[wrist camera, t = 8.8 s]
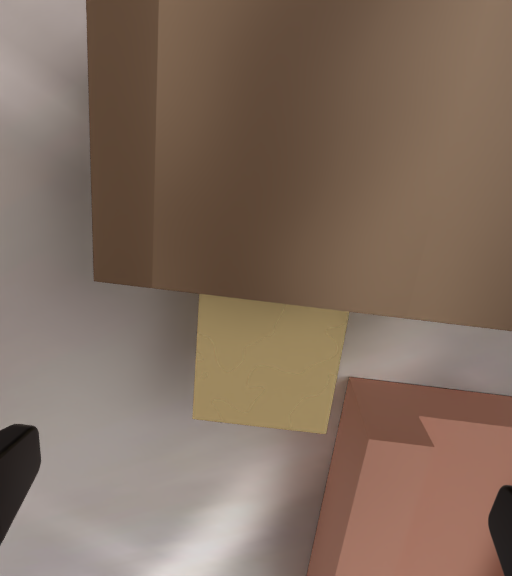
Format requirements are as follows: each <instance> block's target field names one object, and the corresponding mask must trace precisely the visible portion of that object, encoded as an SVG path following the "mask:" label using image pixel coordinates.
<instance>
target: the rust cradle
mask: <svg viewBox="0 0 512 576" xmlns="http://www.w3.org/2000/svg"><path fill="white" fill-rule="evenodd" d="M503 485H512V397H511V396H502V395H494V394H486V393H478V392H469V391H461V390H453V389H445V388H436V387H428V386H420V385H412V384H403V383H395V382H387V381H379V380H370V379H362V378H354V377H349V381H348V385H347V390H346V395H345V399H344V404H343V409H342V413H341V418H340V422H339V427H338V432H337V436H336V441H335V446H334V450H333V455H332V460H331V464H330V469H329V474H328V478H327V483H326V488H325V492H324V497H323V502H322V506H321V511H320V516H319V520H318V525H317V530H316V534H315V539H314V543H313V548H312V553H311V557H310V562H309V567H308V571H307V576H504V573H503V570H502V567H501V564H500V561H499V558H498V555H497V552H496V549H495V546H494V543H493V540H492V537H491V534H490V531H489V527H488V517H489V513H490V511H491V508H492V506H493V503H494V501H495V498H496V496H497V493H498V491H499V489H500V488H501V487H502V486H503Z"/></svg>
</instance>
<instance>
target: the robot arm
mask: <svg viewBox="0 0 512 576" xmlns="http://www.w3.org/2000/svg"><path fill="white" fill-rule="evenodd" d="M40 464H41V454H40V442H39V432H38V429H37V428H36V427H35V426H32V425H24V424H13V425H11V426H9V427H6V428H4V429H2V430H0V545H1V543H2V541H3V540H4V538H5V536H6V534H7V532H8V530H9V528H10V526H11V524H12V522H13V520H14V518H15V516H16V514H17V512H18V510H19V508H20V506H21V504H22V502H23V501H24V499H25V497H26V495H27V493H28V491H29V489H30V487H31V485H32V483H33V481H34V479H35V477H36V475H37V473H38V471H39V468H40ZM488 527H489V531H490V534H491V537H492V540H493V543H494V546H495V549H496V552H497V555H498V558H499V561H500V564H501V567H502V570H503V573H504V576H512V485H503V486H502V487H501V488H500V489H499V491H498V493H497V496H496V498H495V501H494V503H493V506H492V508H491V511H490V513H489V517H488Z"/></svg>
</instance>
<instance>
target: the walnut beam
mask: <svg viewBox="0 0 512 576" xmlns="http://www.w3.org/2000/svg"><path fill="white" fill-rule="evenodd" d="M86 13H87V49H88V86H89V122H90V159H91V195H92V231H93V268H94V281H97V282H105V283H113V284H122V285H130V286H138V287H147V288H155V289H163V290H172V291H180V292H189V293H197V294H205V295H214V296H222V297H230V298H239V299H247V300H256V301H264V302H272V303H281V304H289V305H297V306H306V307H314V308H323V309H331V310H339V311H348V312H356V313H364V314H373V315H381V316H389V317H398V318H406V319H415V320H423V321H431V322H440V323H448V324H456V325H465V326H473V327H482V328H490V329H498V330H507V331H512V0H86Z"/></svg>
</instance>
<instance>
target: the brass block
mask: <svg viewBox="0 0 512 576" xmlns="http://www.w3.org/2000/svg"><path fill="white" fill-rule="evenodd" d="M348 317H349V312H348V311H339V310H331V309H323V308H314V307H306V306H297V305H289V304H281V303H272V302H264V301H256V300H247V299H239V298H230V297H222V296H214V295H205V294H199V309H198V327H197V345H196V363H195V381H194V399H193V417H192V419H197V420H206V421H215V422H224V423H232V424H241V425H250V426H258V427H267V428H276V429H284V430H293V431H302V432H310V433H319V434H326V432H327V427H328V422H329V417H330V411H331V406H332V401H333V396H334V390H335V385H336V380H337V375H338V369H339V364H340V359H341V354H342V349H343V343H344V338H345V333H346V328H347V322H348Z"/></svg>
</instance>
